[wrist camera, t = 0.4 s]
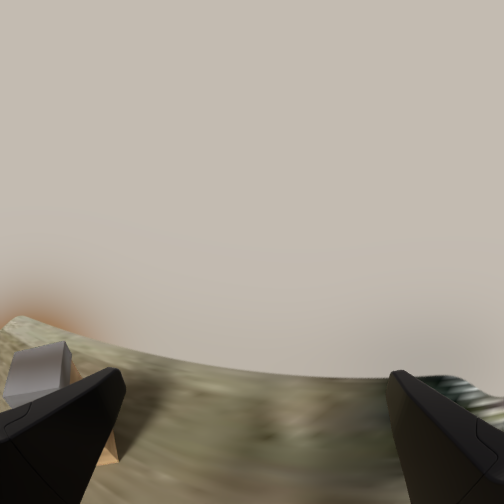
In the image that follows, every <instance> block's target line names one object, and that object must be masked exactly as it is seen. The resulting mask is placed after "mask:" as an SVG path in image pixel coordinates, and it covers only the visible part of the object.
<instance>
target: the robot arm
mask: <svg viewBox="0 0 504 504" xmlns="http://www.w3.org/2000/svg"><path fill="white" fill-rule="evenodd" d="M125 393H126V385H125V383H124V380H123V377H122V374H121V372H120V370H119V369H117V368H112V367H107V368H105V369H103V370H101V371H99V372H96V373H94V374H92V375H90V376H88V377H86V378H83V379H81V380H79V381H77V382H75V383H72V384H70V385H68V386H66V387H63V388H61V389H59V390H56V391H54V392H52V393H50V394H47V395H45V396H43V397H40V398H38V399H36V400H33V402H32V401H31V402H28V403H26V404H24V405H21V406H18V407H16V408H13V409H10V410H7V411H4V412H1V413H0V504H80V502H81V500H82V498H83V495H84V493H85V490H86V488H87V486H88V483H89V481H90V479H91V476H92V474H93V472H94V469H95V467H96V465H97V463H98V460H99V458H100V456H101V454H102V451H103V449H104V447H105V445H106V443H107V440H108V438H109V436H110V434H111V432H112V430H113V427H114V425H115V422H116V420H117V417H118V414H119V411H120V408H121V405H122V402H123V399H124V396H125ZM386 400H387V405H388V411H389V416H390V422H391V428H392V433H393V438H394V441H395V445H396V448H397V452H398V455H399V459H400V462H401V466H402V470H403V473H404V477H405V481H406V485H407V489H408V493H409V497H410V502H411V504H504V432H503V431H501V430H499V429H497V428H495V427H494V426H492V425H490V424H488V423H487V422H485V421H483V420H482V419H480V418H477V416H475V415H474V414H472V413H470V412H469V411H467V410H466V409H464V408H463V407H461V406H459V405H458V404H456V403H455V402H453V401H451V400H450V399H448V398H447V397H445V396H444V395H442V394H440V393H439V392H437V391H436V390H434V389H433V388H431V387H429V386H428V385H426V384H425V383H423V382H422V381H420V380H418V379H417V378H415V377H414V376H412V375H411V374H409V373H408V372H406V371H404V370H397V371H393V372H391V374H390V376H389V381H388V385H387V389H386Z"/></svg>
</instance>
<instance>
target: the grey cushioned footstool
mask: <svg viewBox="0 0 504 504" xmlns="http://www.w3.org/2000/svg"><path fill="white" fill-rule="evenodd" d="M71 359H72V354H71V352H70V350H69V348H68V346H67V344H66V342H65V341H60V342H56V343H52V344H48V345H44V346H39V347H35V348H31V349H26V350H22V351H17V352H15V353H14V356H13V359H12V363H11V366H10V369H9V373H8V377H7V380H6V384H5V388H4V392H3V398H4V399H5V401H6V402H7V403H8V404H9V406H10V407H11V408H12V409H13V408H16V407H18V406H21V405H24V404H26V403H28V402H31V401H32V402H33V400H36V399H38V398H40V397H43V396H45V395H47V394H50V393H52V392H54V391H56V390H59V389H61V388H63V387H66V386H68V385H70V384H72V383H75V382H77V381H79V380H81V379H83V378H82V377H81V375H80V373H79V372H78V370H77V368H76V367H75V365H74V363H73V361H72V360H71ZM117 462H119V460H118V455H117V449H116V444H115V438H114V432H113V430H112V432H111V434H110V436H109V438H108V440H107V443H106V445H105V447H104V449H103V451H102V454H101V456H100V458H99V460H98V463H97V465H96V466H99V465H106V464H111V463H117Z"/></svg>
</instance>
